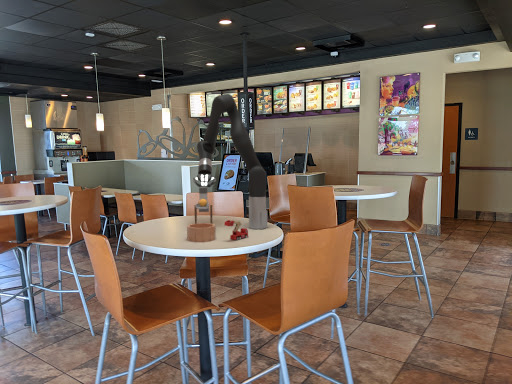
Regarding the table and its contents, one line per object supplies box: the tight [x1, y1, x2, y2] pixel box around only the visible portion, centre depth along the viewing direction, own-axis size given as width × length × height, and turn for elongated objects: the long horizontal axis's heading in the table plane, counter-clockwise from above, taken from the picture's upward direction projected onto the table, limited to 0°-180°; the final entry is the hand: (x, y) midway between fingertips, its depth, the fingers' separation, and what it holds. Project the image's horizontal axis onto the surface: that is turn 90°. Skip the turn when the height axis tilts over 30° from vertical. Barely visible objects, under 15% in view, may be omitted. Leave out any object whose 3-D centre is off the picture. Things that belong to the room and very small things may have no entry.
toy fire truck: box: [224, 219, 249, 241], centre depth 181 cm, size 3×14×10 cm, turn 141°
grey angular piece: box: [194, 187, 210, 213], centre depth 195 cm, size 18×6×13 cm, turn 4°
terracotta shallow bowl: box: [186, 222, 217, 243], centre depth 182 cm, size 13×13×6 cm
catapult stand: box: [193, 204, 214, 224], centre depth 198 cm, size 14×12×14 cm
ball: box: [198, 199, 208, 207], centre depth 194 cm, size 4×4×4 cm
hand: (203, 192), depth 203 cm, fingers closed
